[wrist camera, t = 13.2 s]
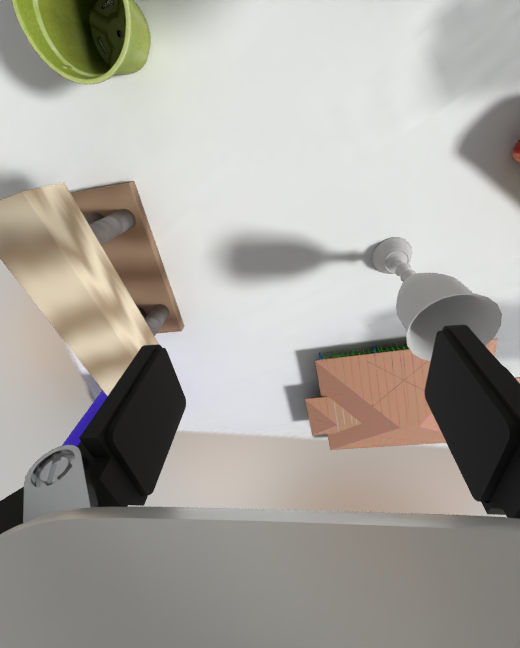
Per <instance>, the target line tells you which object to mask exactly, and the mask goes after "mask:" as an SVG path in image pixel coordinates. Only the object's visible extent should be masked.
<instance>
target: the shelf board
mask: <svg viewBox="0 0 520 648" xmlns="http://www.w3.org/2000/svg"><path fill="white" fill-rule="evenodd" d="M0 259H1V260H2V261H3V263H4V264H5V265H6V266H7V268H8V269H9V270H10V272H11V273H12V274H13V275H14V277H15V278H16V279H17V281H18V282H19V283H20V284H21V286H22V287H23V288H24V290H25V291H26V292H27V293H28V295H29V296H30V297H31V299H32V300H33V301H34V302H35V304H36V305H37V306H38V308H39V309H40V310H41V311H42V313H43V314H44V315H45V317H46V318H47V319H48V320H49V322H50V323H51V324H52V326H53V327H54V328H55V329H56V331H57V332H58V333H59V335H60V336H61V337H62V338H63V340H64V341H65V342H66V343H67V345H68V346H69V347H70V349H71V350H72V351H73V352H74V354H75V355H76V356H77V358H78V359H79V360H80V361H81V363H82V364H83V365H84V367H85V368H86V369H87V370H88V372H89V373H90V374H91V376H92V377H93V378H94V379H95V381H96V382H97V383H98V385H99V386H100V387H101V388H102V390H103V391H104V392H105V394H106V395H107V396H108V395H109V394H110V392H111V391H112V389H113V388H114V386H115V385H116V383H117V382H118V380H119V379H120V378H121V376H122V375H123V373H124V372H125V370H126V369H127V367H128V366H129V364H130V363H131V362H132V360H133V359H134V357H135V356H136V354H137V353H138V351H139V350H140V348H141V347H142V346H144V345H156V344H158V342H157V340H156V338H155V337H154V335H153V333H152V332H151V330H150V328H149V327H148V325H147V323H146V321H145V320H144V318H143V316H142V315H141V313H140V311H139V309H138V308H137V306H136V304H135V303H134V301H133V299H132V298H131V296H130V294H129V292H128V291H127V289H126V287H125V286H124V284H123V282H122V280H121V279H120V277H119V275H118V274H117V272H116V270H115V269H114V267H113V265H112V263H111V262H110V260H109V258H108V257H107V255H106V253H105V251H104V250H103V248H102V246H101V245H100V243H99V241H98V240H97V238H96V236H95V234H94V233H93V231H92V229H91V228H90V226H89V224H88V222H87V221H86V219H85V217H84V216H83V214H82V212H81V211H80V209H79V207H78V205H77V204H76V202H75V200H74V199H73V197H72V195H71V193H70V192H69V190H68V188H67V187H66V185H65V183H64V182H63V183H58V184H54V185H49V186H45V187H40V188H36V189H31V190H27V191H22V192H20V193H17V194H14V195H12V196H9V197H7V198H4V199H2V200H0ZM158 345H159V344H158Z"/></svg>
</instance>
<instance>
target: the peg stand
mask: <svg viewBox="0 0 520 648" xmlns="http://www.w3.org/2000/svg"><path fill="white" fill-rule="evenodd" d="M71 194H72V196H73V199H74V200H75V202H76V204H77V205H78V207H79V209H80V211H81V212H82V214H83V216H84V217H85V219H86V221H87V222H88V224H89V226H90V228H91V229H92V231H93V233H94V234H95V236H96V238H97V240H98V241H99V243H100V245H101V246H102V248H103V250H104V251H105V253H106V255H107V257H108V258H109V260H110V262H111V263H112V265H113V267H114V269H115V270H116V272H117V274H118V275H119V277H120V279H121V280H122V282H123V284H124V286H125V287H126V289H127V291H128V292H129V294H130V296H131V298H132V299H133V301H134V303H135V304H136V306H137V308H138V309H139V311H140V313H141V315H142V316H143V318H144V320H145V321H146V323H147V325H148V327H149V328H150V330H151V332H152V333H153V335H154V336H155V335H156V333H167V332H178V331H182V329H183V328H184V324H183V321H182V318H181V315H180V312H179V309H178V306H177V304H176V301H175V298H174V295H173V292H172V289H171V286H170V283H169V281H168V278H167V275H166V272H165V269H164V266H163V263H162V260H161V257H160V255H159V252H158V249H157V246H156V243H155V240H154V237H153V234H152V231H151V229H150V226H149V223H148V220H147V217H146V214H145V211H144V208H143V206H142V203H141V200H140V197H139V194H138V191H137V188H136V185H135V182H134V181H133V182H128V183H122V184H116V185H111V186H105V187H99V188H94V189H88V190H82V191H77V192H74V193H71Z"/></svg>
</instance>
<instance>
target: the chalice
mask: <svg viewBox="0 0 520 648" xmlns="http://www.w3.org/2000/svg"><path fill="white" fill-rule="evenodd" d="M411 255H412V248H411V246H410V244H409V242H407V241H406V240H405V239H402V238H399V237H392V238H389V239H386V240H384V241H383V242H381V243H380V244H379V245H378V246H377V247H376V248H375V250H374V252H373V256H372V262H373V265H374V267H375V269H377V270H378V271H379V272H382V273H388V274H396V275H397V276H400V277H401V280H402V281H403V283H402V286H401V288H400V290H399V293H398V297H397V304H396V310H397V315H398V317H399V319H400V321H401V322H402V324H403V326H404V327H405V329H406V331H407V334H406V338H407V346H408V347H409V349H410V350H411V352H412V353H413V354H415V355H416V356H418V357H419V358H421V359H424V360H428V361H431V357H432V352H433V347H434V343H435V338H436V334H437V332H438V331H441V330H442V329H443V327H444V326H449V325H467V326H468V327H469V328H470V329H471V330H472V332H473V333H474V334H475V335H476V336H477V337H478V338H479V340H480V341H481V342H482V343H483V344H484V345H485V346H486V345H487V344H488V343H489V342H490V341H491V340H492V339H493V338H494V337H495V335H496V333H497V331H498V329H499V327H500V326H501V316H502V314H501V311H500V309H499V307H498V305H497V304H496V303H495V302H493V301H492V300H491V299H489V298H488V297H485V296H481V295H477V294H473V293H472V292H471V291H470V290H469V289H468V288H467V287H466V286H464V285H463V284H462V283H461V282H460V281H458V280H457V279H456V278H454V277H451V276H447V275H443V274H437V273H417V274H416V273H415V271H413V270H411V266H410V265H409V263H410V260H411Z"/></svg>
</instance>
